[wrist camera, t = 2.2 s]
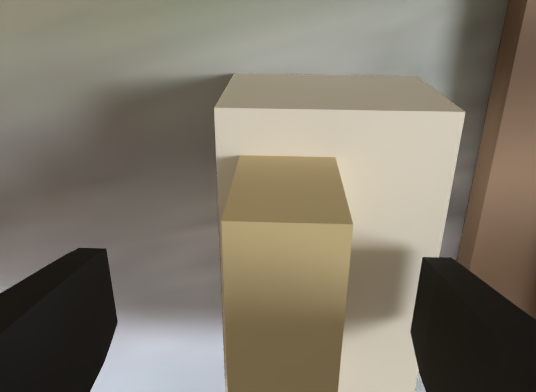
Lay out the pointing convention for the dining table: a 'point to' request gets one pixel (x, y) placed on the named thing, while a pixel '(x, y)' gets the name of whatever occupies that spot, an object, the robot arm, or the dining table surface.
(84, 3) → the dining table surface
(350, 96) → the large cream box
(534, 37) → the grey brown open tray
